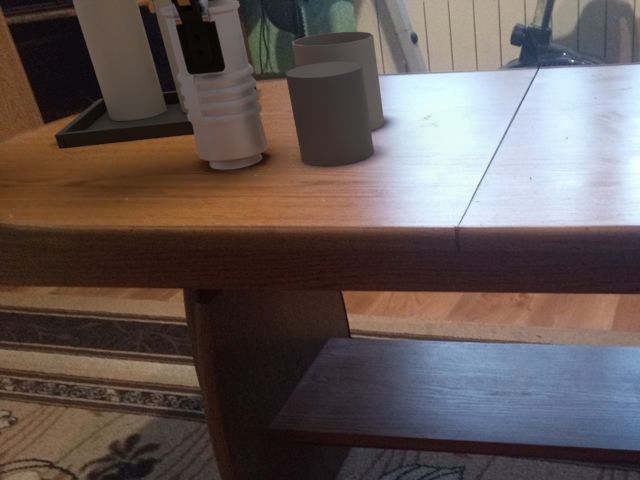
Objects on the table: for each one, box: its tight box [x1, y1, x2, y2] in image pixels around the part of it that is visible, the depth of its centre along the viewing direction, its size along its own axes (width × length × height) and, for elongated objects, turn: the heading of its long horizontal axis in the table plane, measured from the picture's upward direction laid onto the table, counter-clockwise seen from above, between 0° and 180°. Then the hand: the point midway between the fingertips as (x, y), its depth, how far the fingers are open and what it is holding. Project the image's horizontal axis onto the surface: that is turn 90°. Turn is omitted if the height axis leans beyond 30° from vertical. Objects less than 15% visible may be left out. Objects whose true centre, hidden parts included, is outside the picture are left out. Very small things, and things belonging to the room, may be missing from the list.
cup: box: [291, 31, 385, 132], centre depth 79 cm, size 8×8×10 cm
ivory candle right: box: [152, 0, 189, 113], centre depth 92 cm, size 7×7×15 cm
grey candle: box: [285, 62, 375, 168], centre depth 70 cm, size 7×7×9 cm
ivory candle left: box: [72, 0, 167, 121], centre depth 91 cm, size 7×7×15 cm
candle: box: [160, 0, 269, 170], centre depth 69 cm, size 7×7×15 cm
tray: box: [54, 85, 258, 149], centre depth 91 cm, size 21×19×2 cm
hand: (212, 63), depth 67 cm, fingers open, 6 cm apart
